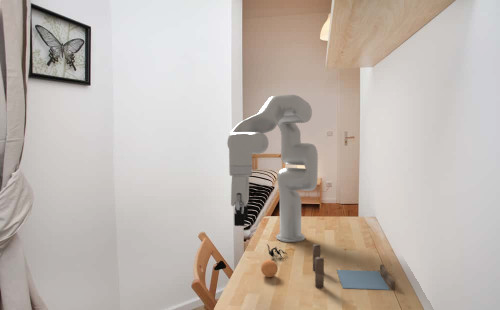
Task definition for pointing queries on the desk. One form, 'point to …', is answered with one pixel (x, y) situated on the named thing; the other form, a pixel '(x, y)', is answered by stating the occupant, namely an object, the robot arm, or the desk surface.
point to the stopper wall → (387, 277)
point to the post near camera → (319, 272)
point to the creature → (275, 251)
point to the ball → (269, 268)
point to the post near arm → (315, 253)
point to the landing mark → (362, 280)
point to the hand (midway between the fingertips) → (241, 221)
